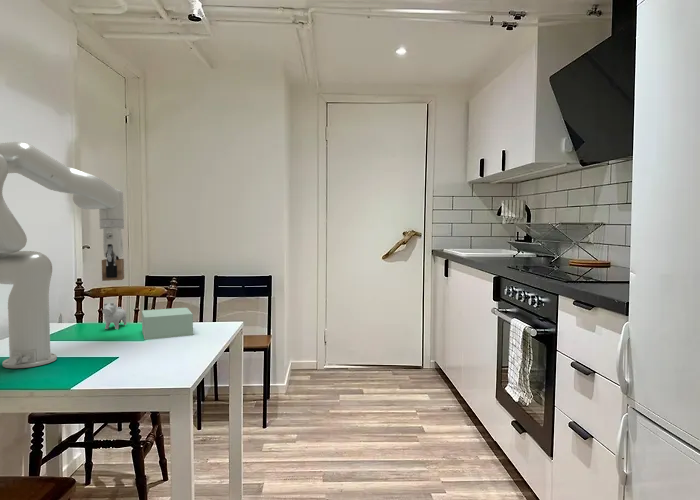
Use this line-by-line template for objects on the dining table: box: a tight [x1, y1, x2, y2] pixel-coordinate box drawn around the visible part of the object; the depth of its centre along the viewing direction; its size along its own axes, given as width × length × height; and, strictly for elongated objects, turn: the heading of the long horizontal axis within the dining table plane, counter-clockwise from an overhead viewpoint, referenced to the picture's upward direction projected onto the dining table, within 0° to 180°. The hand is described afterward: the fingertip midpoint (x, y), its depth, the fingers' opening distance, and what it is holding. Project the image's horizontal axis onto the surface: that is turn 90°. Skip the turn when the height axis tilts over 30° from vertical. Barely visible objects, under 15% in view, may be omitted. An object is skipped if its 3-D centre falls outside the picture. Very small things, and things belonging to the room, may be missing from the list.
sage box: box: [141, 307, 194, 341], centre depth 168 cm, size 16×16×8 cm
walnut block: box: [101, 258, 125, 282], centre depth 159 cm, size 6×6×7 cm
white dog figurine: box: [101, 301, 128, 330], centre depth 177 cm, size 5×13×11 cm, turn 2°
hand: (113, 276), depth 159 cm, fingers closed on walnut block, 6 cm apart
